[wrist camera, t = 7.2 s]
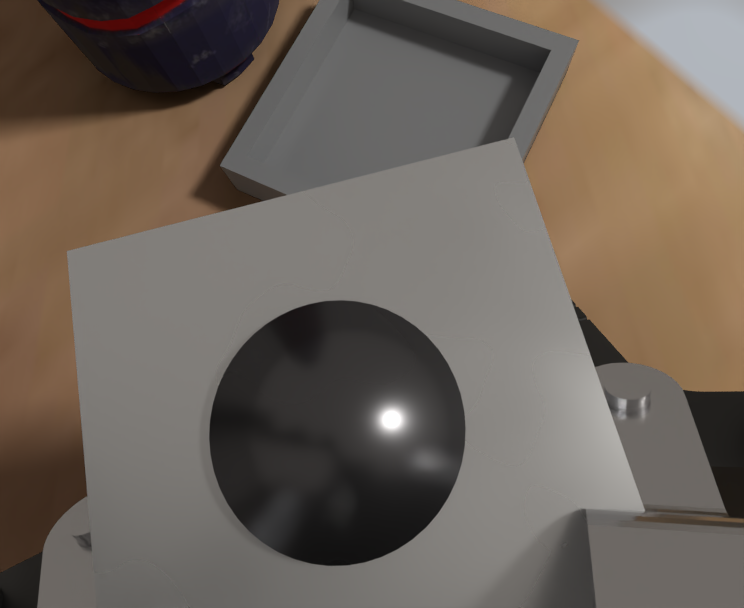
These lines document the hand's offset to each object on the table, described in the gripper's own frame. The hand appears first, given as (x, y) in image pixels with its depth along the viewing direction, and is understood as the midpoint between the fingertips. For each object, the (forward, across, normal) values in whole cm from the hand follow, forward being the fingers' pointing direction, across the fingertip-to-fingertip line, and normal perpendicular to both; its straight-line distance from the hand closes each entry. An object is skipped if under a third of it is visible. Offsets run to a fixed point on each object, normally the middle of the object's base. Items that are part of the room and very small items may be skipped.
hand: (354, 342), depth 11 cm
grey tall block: (+2, 0, +5) cm, 5 cm away
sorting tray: (+20, -4, +1) cm, 20 cm away
